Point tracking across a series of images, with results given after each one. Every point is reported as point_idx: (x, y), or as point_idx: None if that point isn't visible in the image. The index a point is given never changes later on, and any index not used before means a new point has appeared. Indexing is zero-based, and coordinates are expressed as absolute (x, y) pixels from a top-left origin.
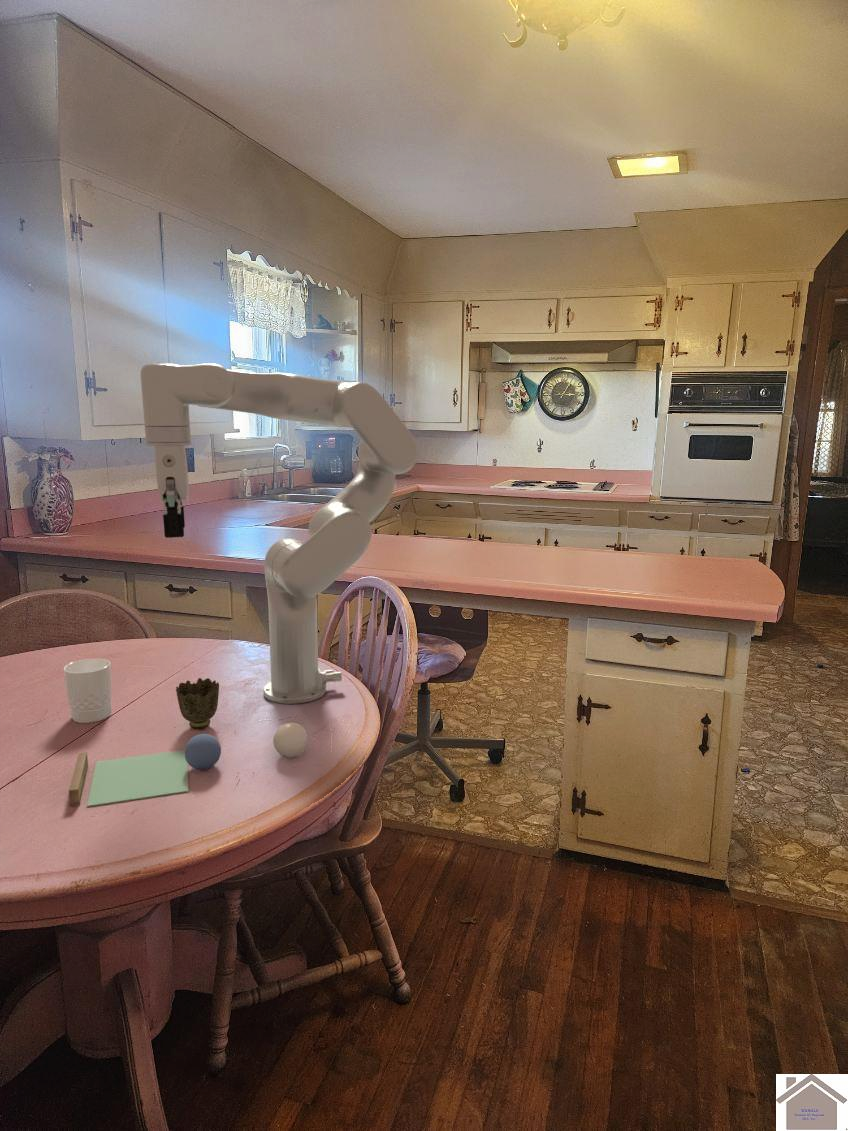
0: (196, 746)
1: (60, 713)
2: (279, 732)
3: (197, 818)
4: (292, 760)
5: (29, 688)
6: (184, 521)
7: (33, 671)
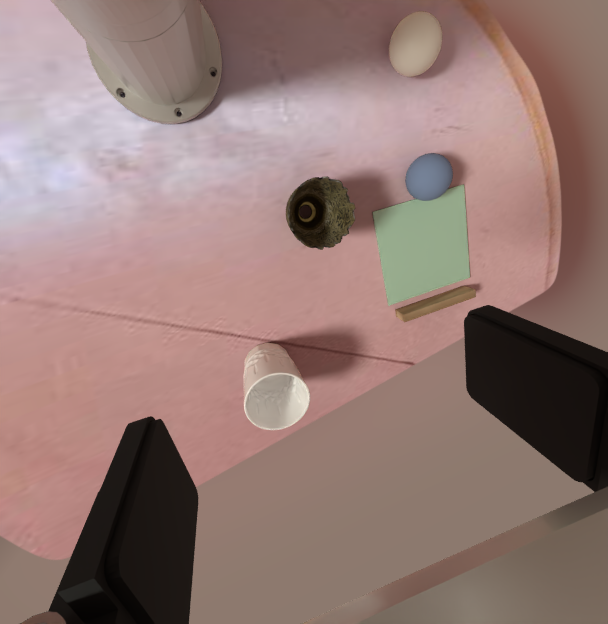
0: (451, 180)
1: None
2: (433, 56)
3: (510, 162)
4: None
5: None
6: (139, 443)
7: None
